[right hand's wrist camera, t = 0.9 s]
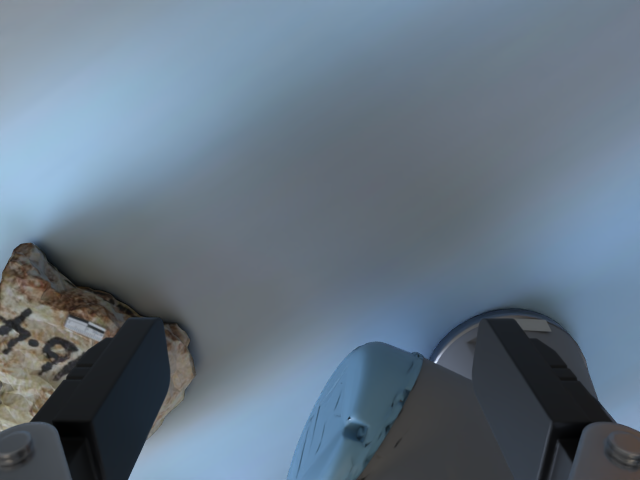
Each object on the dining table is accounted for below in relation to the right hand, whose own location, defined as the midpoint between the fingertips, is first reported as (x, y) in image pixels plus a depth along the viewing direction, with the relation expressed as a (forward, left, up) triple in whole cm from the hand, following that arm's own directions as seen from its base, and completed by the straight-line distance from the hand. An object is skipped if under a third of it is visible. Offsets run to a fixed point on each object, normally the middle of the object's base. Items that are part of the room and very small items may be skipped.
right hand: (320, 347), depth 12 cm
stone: (+23, -24, -28) cm, 44 cm away
